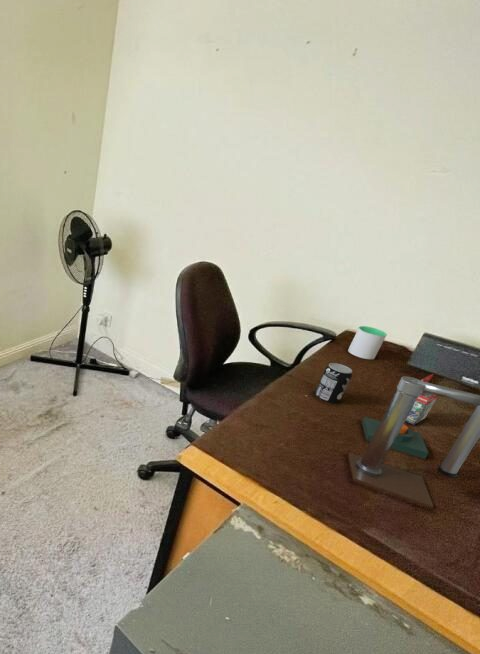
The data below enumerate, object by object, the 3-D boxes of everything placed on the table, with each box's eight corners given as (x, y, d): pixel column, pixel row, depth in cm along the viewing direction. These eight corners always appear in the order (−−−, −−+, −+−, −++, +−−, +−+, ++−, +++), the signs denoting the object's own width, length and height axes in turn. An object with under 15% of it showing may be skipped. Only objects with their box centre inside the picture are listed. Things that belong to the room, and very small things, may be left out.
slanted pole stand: (419, 481, 103) (469, 397, 93) (430, 511, 95) (487, 422, 85) (347, 457, 111) (386, 377, 101) (352, 482, 103) (395, 398, 92)
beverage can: (336, 396, 136) (351, 366, 131) (340, 407, 131) (356, 375, 126) (312, 390, 139) (325, 360, 134) (315, 400, 134) (329, 369, 129)
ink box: (425, 418, 126) (450, 379, 120) (414, 425, 123) (438, 385, 117) (410, 411, 129) (432, 372, 123) (398, 418, 126) (421, 378, 120)
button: (404, 428, 116) (406, 424, 115) (406, 435, 113) (409, 430, 113) (386, 423, 118) (389, 419, 117) (389, 430, 115) (391, 425, 115)
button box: (416, 438, 118) (422, 427, 116) (425, 459, 110) (431, 447, 109) (361, 422, 124) (366, 411, 123) (366, 440, 117) (371, 429, 115)
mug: (354, 344, 169) (365, 322, 165) (380, 352, 163) (391, 330, 159) (345, 352, 163) (356, 329, 159) (371, 361, 157) (383, 337, 153)
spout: (453, 470, 96) (499, 396, 88) (458, 481, 93) (506, 406, 85) (365, 442, 104) (400, 373, 96) (367, 452, 102) (404, 380, 93)
